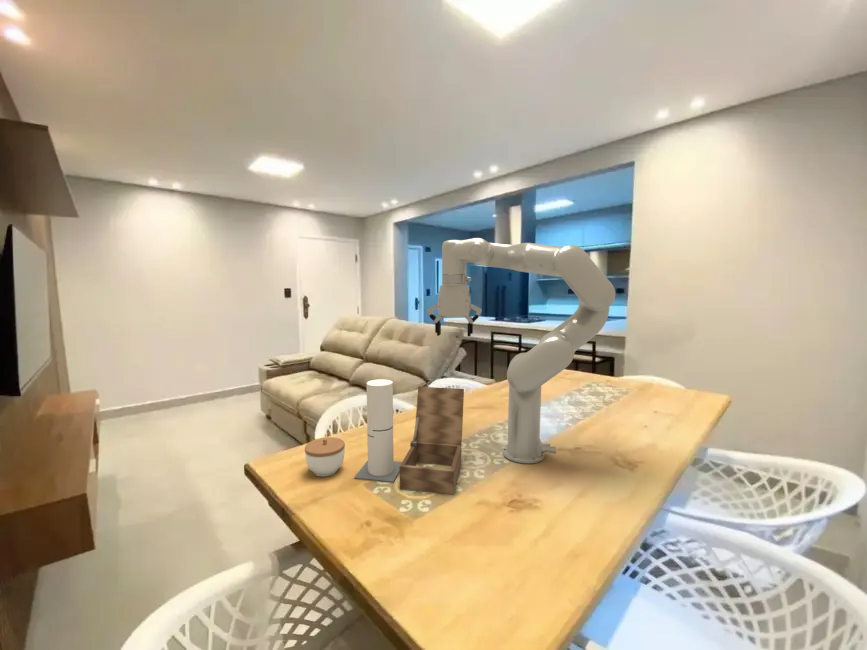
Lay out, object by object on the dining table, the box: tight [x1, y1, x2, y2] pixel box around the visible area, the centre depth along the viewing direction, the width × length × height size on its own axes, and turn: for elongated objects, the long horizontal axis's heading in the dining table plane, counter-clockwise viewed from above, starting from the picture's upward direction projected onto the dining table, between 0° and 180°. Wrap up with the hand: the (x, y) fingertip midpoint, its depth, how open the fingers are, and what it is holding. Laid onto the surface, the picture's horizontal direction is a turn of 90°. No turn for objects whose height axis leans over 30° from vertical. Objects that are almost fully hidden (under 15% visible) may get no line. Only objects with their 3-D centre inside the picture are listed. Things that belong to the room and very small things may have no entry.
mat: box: [353, 460, 402, 484], centre depth 105 cm, size 11×11×1 cm
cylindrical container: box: [366, 378, 395, 476], centre depth 103 cm, size 7×7×25 cm
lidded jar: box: [304, 436, 346, 478], centre depth 104 cm, size 11×11×9 cm
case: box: [399, 386, 465, 495], centre depth 104 cm, size 14×22×21 cm, turn 169°
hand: (453, 335), depth 117 cm, fingers open, 9 cm apart
